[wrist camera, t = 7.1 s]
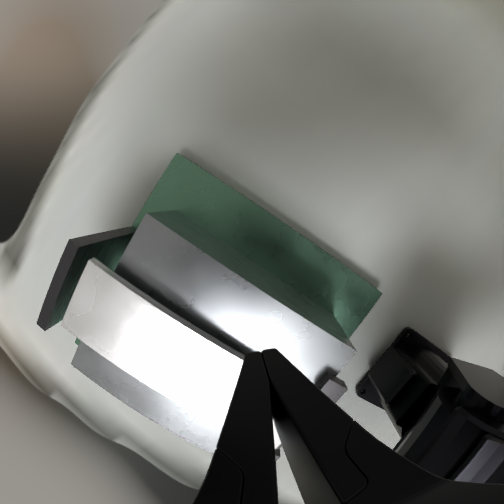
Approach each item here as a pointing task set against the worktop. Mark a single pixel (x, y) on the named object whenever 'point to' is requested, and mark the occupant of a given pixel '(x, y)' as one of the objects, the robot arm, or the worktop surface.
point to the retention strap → (153, 343)
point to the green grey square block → (219, 289)
